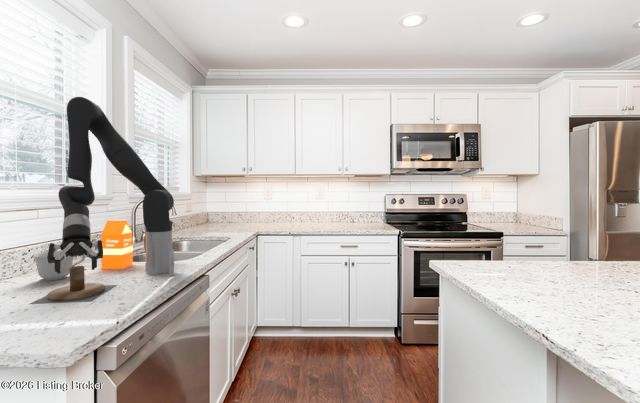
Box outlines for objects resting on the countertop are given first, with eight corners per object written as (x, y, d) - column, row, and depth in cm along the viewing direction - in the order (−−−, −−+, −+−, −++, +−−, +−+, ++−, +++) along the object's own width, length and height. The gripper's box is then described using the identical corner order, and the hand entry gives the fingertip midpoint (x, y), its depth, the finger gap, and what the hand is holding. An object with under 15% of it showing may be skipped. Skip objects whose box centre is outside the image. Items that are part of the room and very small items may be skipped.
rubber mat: (117, 287, 107) (117, 284, 107) (91, 304, 91) (91, 301, 91) (65, 289, 104) (65, 286, 104) (28, 307, 88) (28, 303, 88)
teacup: (88, 279, 117) (88, 252, 116) (34, 287, 106) (33, 258, 106) (82, 273, 125) (82, 248, 125) (32, 280, 115) (31, 253, 114)
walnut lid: (113, 285, 106) (112, 261, 105) (89, 299, 92) (89, 272, 92) (66, 287, 103) (65, 262, 103) (35, 302, 90) (34, 273, 89)
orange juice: (122, 269, 133) (121, 221, 132) (101, 269, 132) (100, 221, 132) (133, 264, 140) (132, 219, 140) (112, 264, 140) (112, 219, 140)
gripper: (48, 224, 102) (45, 266, 93) (102, 222, 110) (104, 260, 101) (50, 238, 106) (47, 280, 97) (101, 235, 114) (103, 273, 106)
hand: (76, 270), depth 99 cm, fingers open, 8 cm apart
